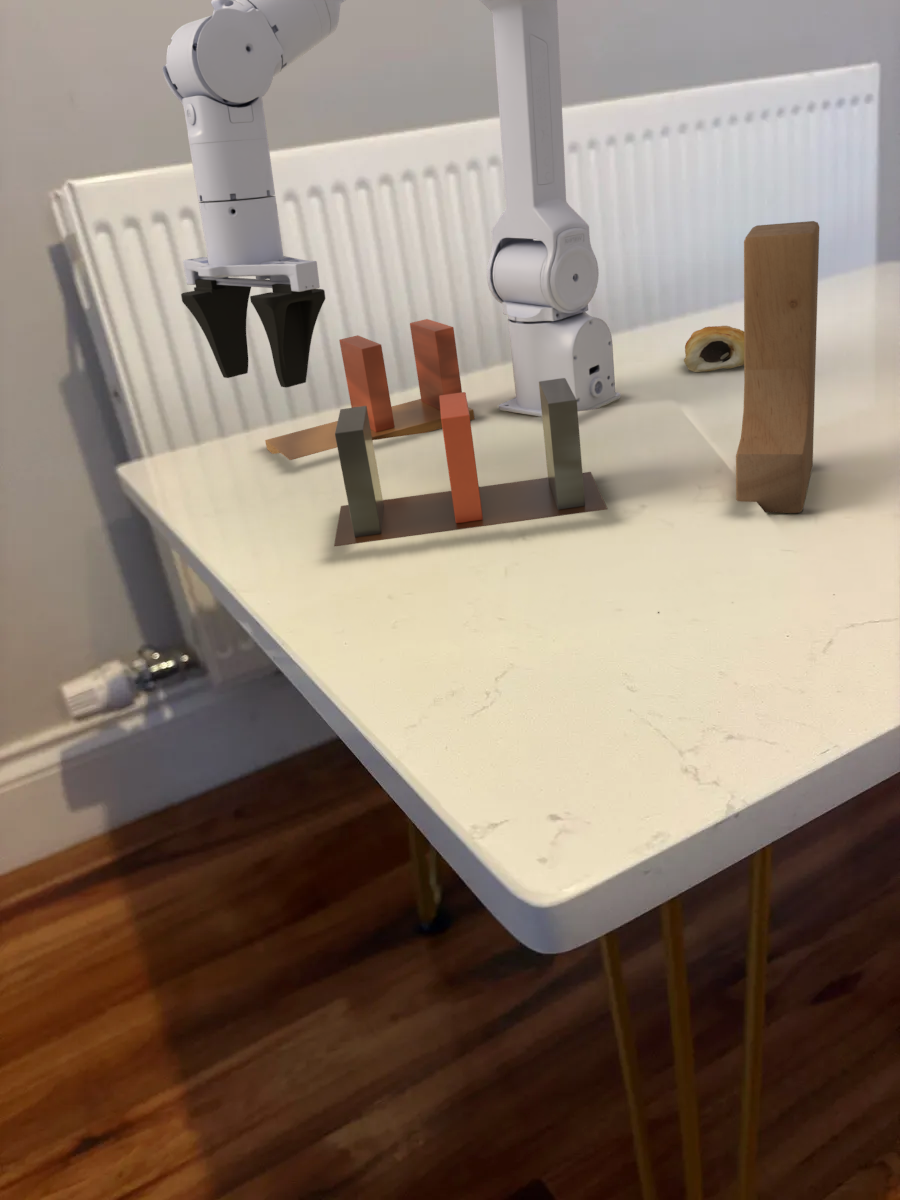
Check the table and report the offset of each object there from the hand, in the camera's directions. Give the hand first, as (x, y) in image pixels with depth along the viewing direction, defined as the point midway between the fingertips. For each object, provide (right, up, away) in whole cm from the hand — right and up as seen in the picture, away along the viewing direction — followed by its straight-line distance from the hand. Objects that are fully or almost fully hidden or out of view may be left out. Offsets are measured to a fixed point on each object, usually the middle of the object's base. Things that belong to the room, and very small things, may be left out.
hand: (263, 379), depth 83 cm
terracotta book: (+16, -11, -5) cm, 20 cm away
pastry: (+43, +7, +25) cm, 50 cm away
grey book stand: (+16, -12, -4) cm, 21 cm away
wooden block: (+39, -10, -7) cm, 41 cm away
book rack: (+8, -1, +18) cm, 20 cm away
